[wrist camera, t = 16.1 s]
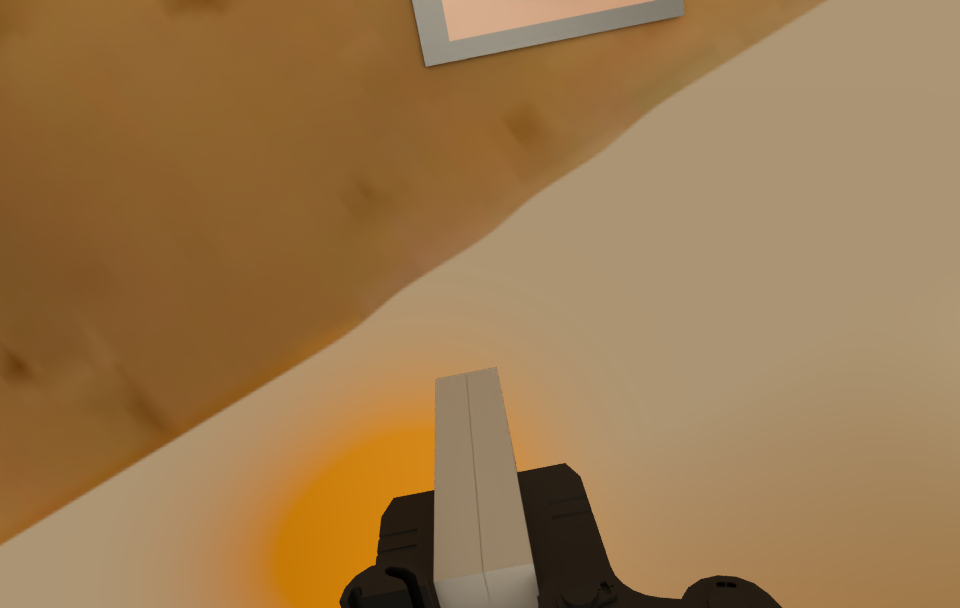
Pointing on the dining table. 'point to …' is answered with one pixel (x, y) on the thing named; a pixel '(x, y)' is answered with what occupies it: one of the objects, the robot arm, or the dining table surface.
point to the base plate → (523, 23)
